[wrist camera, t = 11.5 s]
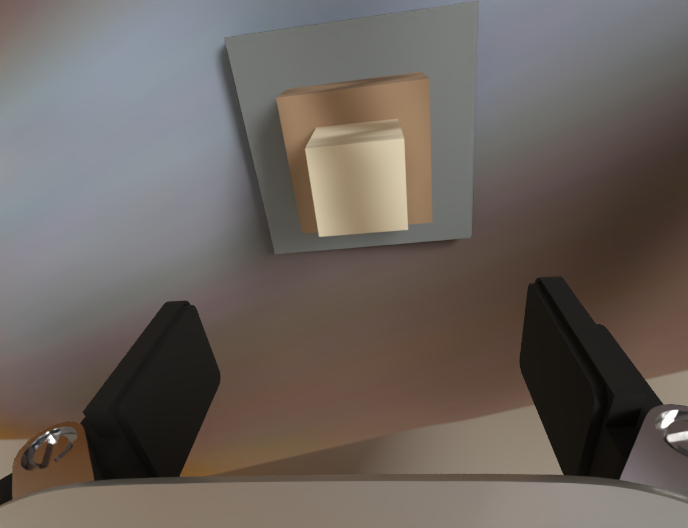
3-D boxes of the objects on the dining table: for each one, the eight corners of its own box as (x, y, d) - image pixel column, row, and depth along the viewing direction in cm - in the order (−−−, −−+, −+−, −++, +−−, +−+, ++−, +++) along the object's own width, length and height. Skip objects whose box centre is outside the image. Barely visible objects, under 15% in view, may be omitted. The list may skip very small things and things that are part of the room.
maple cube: (398, 118, 25) (404, 138, 21) (402, 197, 27) (408, 229, 23) (315, 127, 25) (304, 148, 21) (326, 203, 28) (319, 236, 23)
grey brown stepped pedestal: (473, 2, 26) (496, -4, 22) (467, 229, 34) (483, 262, 29) (231, 37, 28) (202, 39, 23) (278, 246, 36) (264, 279, 31)
